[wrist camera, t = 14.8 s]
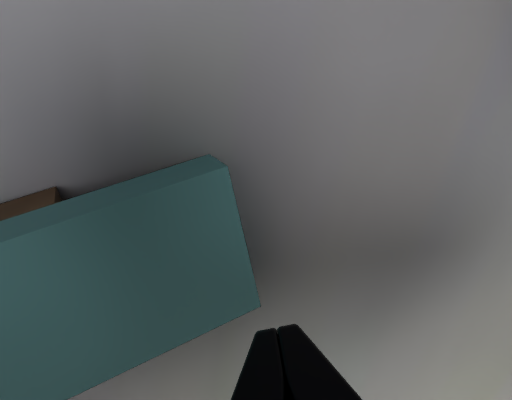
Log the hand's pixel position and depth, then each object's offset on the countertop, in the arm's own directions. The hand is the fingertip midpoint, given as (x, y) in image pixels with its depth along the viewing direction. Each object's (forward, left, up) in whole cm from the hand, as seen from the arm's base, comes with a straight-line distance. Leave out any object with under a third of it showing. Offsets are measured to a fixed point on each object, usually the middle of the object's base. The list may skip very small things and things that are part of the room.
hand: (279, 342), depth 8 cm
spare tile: (+1, 0, -5) cm, 5 cm away
